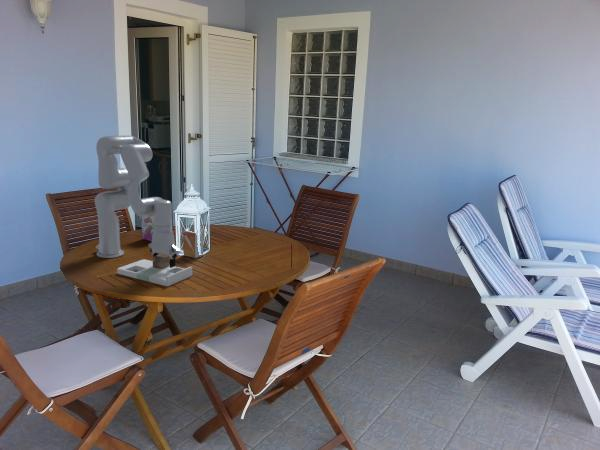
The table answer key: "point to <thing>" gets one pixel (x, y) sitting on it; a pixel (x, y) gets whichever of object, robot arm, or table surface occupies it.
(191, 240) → the small box
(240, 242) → the table surface
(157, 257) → the walnut block
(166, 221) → the robot arm
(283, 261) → the table surface
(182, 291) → the table surface
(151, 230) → the candy bar box
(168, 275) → the deck
